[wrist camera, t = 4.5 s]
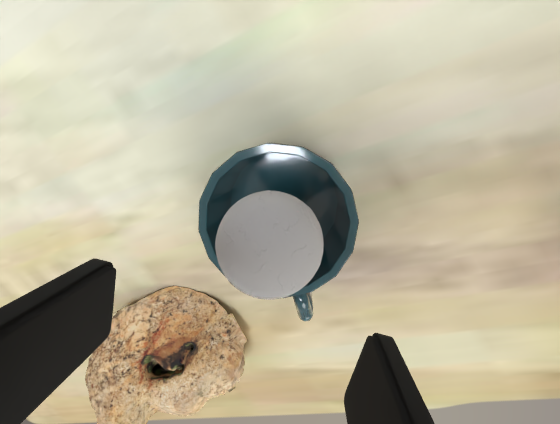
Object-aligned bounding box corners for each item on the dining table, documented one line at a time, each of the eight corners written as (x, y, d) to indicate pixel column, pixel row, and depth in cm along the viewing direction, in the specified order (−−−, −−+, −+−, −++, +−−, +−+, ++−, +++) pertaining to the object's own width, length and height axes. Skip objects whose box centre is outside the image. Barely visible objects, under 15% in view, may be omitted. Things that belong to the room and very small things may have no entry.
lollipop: (238, 205, 29) (172, 264, 14) (282, 159, 27) (259, 173, 13) (283, 248, 30) (264, 346, 15) (329, 206, 28) (357, 270, 13)
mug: (210, 164, 28) (175, 170, 21) (326, 129, 26) (336, 121, 19) (255, 295, 32) (240, 343, 24) (361, 273, 30) (380, 317, 22)
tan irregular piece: (210, 259, 38) (199, 260, 31) (260, 346, 37) (261, 369, 29) (92, 329, 35) (48, 349, 28) (142, 426, 34) (110, 476, 26)
